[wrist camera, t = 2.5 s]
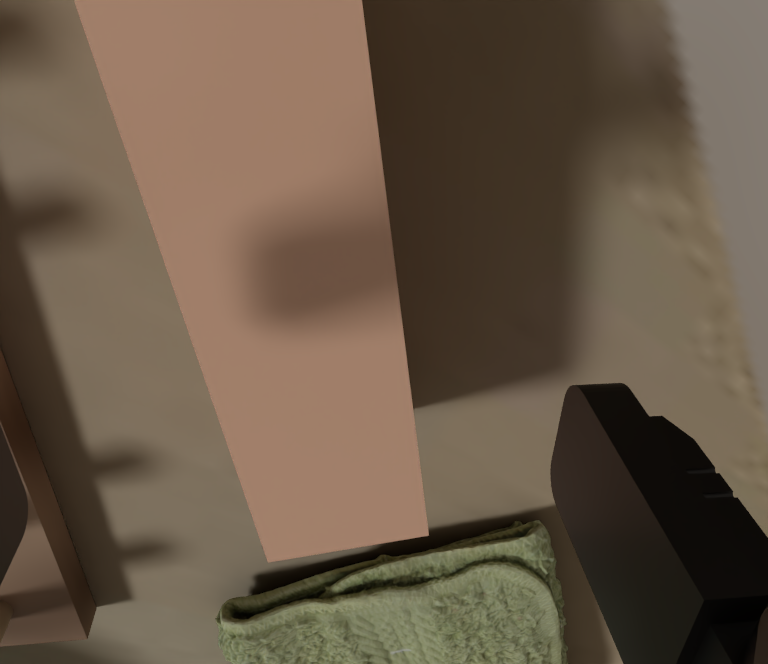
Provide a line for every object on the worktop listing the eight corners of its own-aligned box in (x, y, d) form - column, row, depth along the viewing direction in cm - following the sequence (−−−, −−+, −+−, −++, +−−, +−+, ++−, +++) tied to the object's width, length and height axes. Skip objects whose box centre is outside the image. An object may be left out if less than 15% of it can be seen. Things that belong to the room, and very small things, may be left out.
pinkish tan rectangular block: (120, -120, 12) (27, -137, 8) (327, -150, 12) (339, -181, 8) (275, 427, 20) (268, 562, 16) (402, 406, 20) (429, 535, 16)
